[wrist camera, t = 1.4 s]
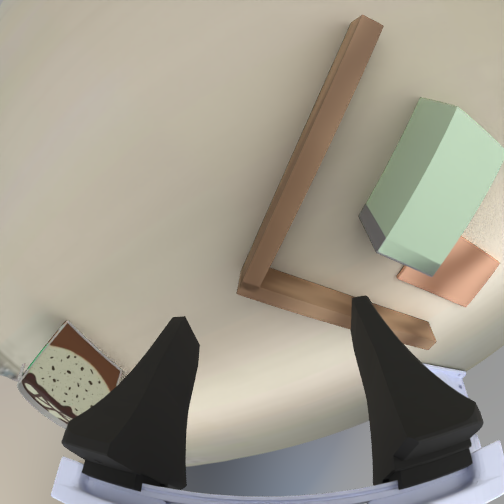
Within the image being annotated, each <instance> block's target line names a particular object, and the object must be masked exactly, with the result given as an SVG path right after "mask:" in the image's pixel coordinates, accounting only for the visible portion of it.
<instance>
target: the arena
mask: <svg viewBox="0 0 504 504" xmlns="http://www.w3.org/2000/svg"><path fill="white" fill-rule="evenodd" d="M383 27H384V26H383V25H381V24H379V23H377V22H376V21H374V20H372V19H370V18H368V17H366V16H364V15H361V16H360V17H358V18H357V19H356V20H354V21H353V22H351V24H350V27H349V29H348V31H347V33H346V35H345V38H344V40H343V42H342V44H341V47H340V49H339V51H338V53H337V56H336V58H335V60H334V62H333V65H332V67H331V69H330V71H329V74H328V76H327V78H326V80H325V83H324V85H323V87H322V89H321V92H320V94H319V96H318V98H317V101H316V103H315V105H314V107H313V110H312V112H311V114H310V116H309V119H308V121H307V123H306V125H305V128H304V130H303V132H302V134H301V137H300V139H299V141H298V143H297V146H296V148H295V150H294V152H293V155H292V157H291V159H290V161H289V164H288V166H287V168H286V170H285V173H284V175H283V177H282V179H281V182H280V184H279V186H278V188H277V191H276V193H275V195H274V197H273V200H272V202H271V204H270V207H269V209H268V211H267V213H266V216H265V218H264V220H263V222H262V225H261V227H260V229H259V231H258V234H257V236H256V238H255V240H254V243H253V245H252V247H251V250H250V252H249V254H248V256H247V259H246V261H245V263H244V265H243V268H242V270H241V273H240V278H239V283H238V289H237V294H238V295H241V296H244V297H247V298H250V299H253V300H256V301H260V302H263V303H266V304H269V305H272V306H275V307H278V308H281V309H284V310H288V311H291V312H294V313H297V314H301V315H304V316H307V317H310V318H314V319H317V320H320V321H324V322H327V323H330V324H334V325H337V326H341V327H344V328H348V329H351V308H352V298H354V297H353V296H350V295H347V294H344V293H341V292H338V291H335V290H332V289H330V288H327V287H324V286H321V285H318V284H315V283H312V282H309V281H306V280H304V279H301V278H298V277H295V276H292V275H289V274H286V273H283V272H280V271H278V270H275V269H272V268H270V266H271V264H272V262H273V260H274V258H275V256H276V254H277V252H278V250H279V248H280V246H281V244H282V242H283V240H284V238H285V236H286V234H287V232H288V230H289V228H290V226H291V224H292V222H293V220H294V218H295V216H296V214H297V212H298V209H299V207H300V205H301V203H302V201H303V199H304V197H305V195H306V193H307V191H308V189H309V187H310V185H311V183H312V181H313V179H314V177H315V175H316V172H317V170H318V168H319V166H320V164H321V162H322V160H323V158H324V156H325V154H326V152H327V149H328V147H329V145H330V143H331V141H332V139H333V137H334V135H335V132H336V130H337V128H338V126H339V124H340V122H341V120H342V118H343V115H344V113H345V111H346V109H347V107H348V105H349V102H350V100H351V98H352V96H353V94H354V92H355V89H356V87H357V85H358V83H359V81H360V78H361V76H362V74H363V72H364V69H365V67H366V65H367V63H368V61H369V58H370V56H371V54H372V52H373V49H374V47H375V45H376V43H377V40H378V38H379V36H380V33H381V31H382V29H383ZM499 264H500V263H499V262H498V261H497V260H495V259H494V258H493V257H491V256H490V255H488V254H487V253H485V252H484V251H483V250H481V249H480V248H478V247H477V246H475V245H474V244H472V243H471V242H469V241H468V240H466V239H464V238H463V237H461V236H460V238H459V239H458V241H457V242H456V244H455V245H454V247H453V248H452V250H451V251H450V253H449V254H448V256H447V257H446V258H445V260H444V261H443V263H442V264H441V266H440V267H439V269H438V270H437V271H436V273H435V274H434V275H433V277H430V276H427V275H425V274H423V273H421V272H419V271H416V270H414V269H412V268H410V267H408V266H404V267H403V268H402V270H401V271H400V272H399V274H398V275H397V278H398V279H399V280H402V281H404V282H407V283H409V284H412V285H414V286H416V287H419V288H421V289H424V290H426V291H428V292H431V293H433V294H436V295H438V296H440V297H443V298H445V299H447V300H450V301H452V302H454V303H457V304H459V305H461V306H464V307H467V305H468V304H469V303H470V302H471V301H472V299H473V298H474V297H475V296H476V295H477V293H478V292H479V291H480V290H481V288H482V287H483V286H484V284H485V283H486V282H487V280H488V279H489V278H490V276H491V275H492V274H493V272H494V271H495V270H496V268H497V267H498V265H499ZM372 304H373V303H372ZM373 305H374V307H375V308H376V310H377V311H378V313H379V314H380V315H381V317H382V318H383V320H384V321H385V322H386V324H387V325H388V326H389V327H390V329H391V330H392V331H393V332H394V334H395V335H396V336H397V337H398V338H399V340H400V341H401V342H402V343H403V344H406V345H410V346H414V347H418V348H422V349H426V350H429V349H430V348H431V347H432V346H433V345H434V344H435V343H436V342H437V341H436V339H435V337H434V334H433V332H432V329H431V327H430V325H429V323H428V322H427V321H424V320H421V319H418V318H415V317H412V316H409V315H406V314H403V313H400V312H397V311H394V310H391V309H388V308H385V307H382V306H379V305H376V304H373Z"/></svg>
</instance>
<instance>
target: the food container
mask: <svg viewBox="0 0 504 504" xmlns="http://www.w3.org/2000/svg"><path fill="white" fill-rule="evenodd" d="M24 367H25V364H23V365H22V367H21V370H20V373H19V376H18V384H17V387H18V390H19V391H20V393H21V394H22V395H23V397H24V398H25V399H26V400H27V401H28V402H29V403H30V404H31V405H32V406H33V407H34V408H35V409H36V410H38V411H39V412H40V413H41V414H43V415H44V416H45V417H47V418H48V419H50V420H51V421H53V422H54V423H56V424H57V425H59V426H61V427H62V428H65V429H66V428H67V425H68V422H69V421H70V420H72V419H73V418H75V417H77V416H78V415H80V414H82V413H83V412H85V411H86V410H88V409H89V408H91V407H92V406H93V405H95V404H96V403H98V402H99V401H100V400H101V399H103V398H104V397H105V396H106V395H107V394H108V393H110V392H111V391H112V390H113V389H114V388H115V387H116V386H117V385H118V384H119V382H120V378H121V375H122V372H123V370H122V369H120V368H119V367H118V366H117V365H116V364H114V363H113V362H112V361H111V360H110V359H109V358H108V357H106V356H105V355H104V354H103V353H102V352H101V351H100V350H99V349H97V348H96V347H95V346H94V345H93V344H92V343H91V342H90V341H89V340H88V339H87V338H86V337H85V336H84V335H82V334H81V333H80V332H79V331H78V330H77V329H76V328H75V327H74V326H73V325H72V324H71V323H70V322H69V321H68V320H67V321H65V322H64V323H63V324H62V326H61V327H60V328H59V329H58V330H57V332H56V333H55V334H54V335H53V337H52V338H51V339H50V340H49V341H48V343H47V344H46V345H45V346H44V348H43V349H42V350H41V352H40V353H39V354H38V355H37V357H36V358H35V359H34V361H33V362H32V363H31V364H30V366H29V367H28V368H27V370H26V371H25V372H24V373H23V370H24Z"/></svg>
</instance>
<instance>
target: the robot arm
mask: <svg viewBox="0 0 504 504" xmlns="http://www.w3.org/2000/svg"><path fill="white" fill-rule="evenodd" d="M351 335H352V341H353V347H354V352H355V356H356V360H357V363H358V367H359V371H360V375H361V378H362V382H363V386H364V390H365V394H366V399H367V405H368V412H369V421H370V430H371V441H372V457H373V486H369V487H364V488H359V489H353V490H347V491H340V492H332V493H323V494H313V495H300V496H276V497H253V496H229V495H216V494H205V493H197V492H189V491H182V490H181V489H183V488H185V487H186V485H187V484H186V465H185V456H186V429H187V418H188V410H189V404H190V400H191V395H192V391H193V386H194V382H195V377H196V372H197V367H198V360H199V347H200V345H199V343H198V341H197V339H196V337H195V335H194V333H193V331H192V329H191V327H190V325H189V323H188V321H187V319H186V317H185V316H184V317H173V318H172V319H171V320H170V322H169V323H168V324H167V326H166V327H165V328H164V330H163V331H162V333H161V334H160V335H159V337H158V338H157V339H156V341H155V342H154V343H153V345H152V346H151V347H150V349H149V350H148V351H147V353H146V354H145V355H144V357H143V358H142V359H141V360H140V361H139V363H138V364H137V365H136V366H135V367H134V369H133V370H132V371H131V372H130V373H129V374H128V375H127V376H126V377H125V378H124V379H123V380H122V381H121V382H120V384H118V385H117V386H116V387H115V388H114V389H113V390H112V391H111V392H110V393H108V394H107V395H106V396H105V397H104V398H103V399H101V400H100V401H99V402H98V403H96V404H95V405H93V406H92V407H91V408H89V409H88V410H86V411H85V412H83V413H82V414H80V415H78V416H77V417H75V418H73V419H72V420H70V421H69V422H68V425H67V428H66V431H65V433H64V436H63V440H62V444H63V446H64V447H66V448H67V449H69V450H70V451H71V452H73V453H75V454H77V455H78V456H80V457H81V458H83V459H85V463H84V464H82V463H80V462H77V461H75V460H72V459H69V458H67V457H64V456H63V457H62V459H61V462H60V465H59V468H58V472H57V475H56V479H55V482H54V486H53V489H52V493H51V496H52V497H53V498H55V499H57V500H59V501H61V502H63V503H65V504H171V503H173V504H364V503H367V504H486V503H488V502H490V501H492V500H494V499H496V498H497V497H499V496H501V495H503V494H504V454H503V450H502V447H501V443H500V440H497V441H495V442H493V443H491V444H489V445H487V446H484V447H482V448H481V445H480V441H479V438H478V436H477V434H475V433H476V432H477V431H478V430H479V429H480V428H481V427H482V425H483V419H482V416H481V413H480V411H479V409H478V407H477V405H476V403H475V402H474V401H472V400H470V399H469V398H468V395H467V392H466V389H465V386H464V383H463V381H462V378H463V377H464V376H465V375H466V372H465V371H460V370H455V369H449V368H444V367H439V366H434V365H429V364H422V363H421V362H420V361H419V360H418V359H417V358H416V357H415V356H414V355H413V354H412V353H411V352H410V351H409V350H408V348H407V347H406V346H405V345H404V344H403V343H402V342H401V341H400V340H399V338H398V337H397V336H396V335H395V334H394V332H393V331H392V330H391V329H390V327H389V326H388V325H387V324H386V322H385V321H384V320H383V318H382V317H381V315H380V314H379V313H378V311H377V310H376V308H375V307H374V305H373V304H372V302H371V301H370V299H369V298H368V297H367V296H360V297H354V298H352V308H351ZM164 487H166V488H164ZM169 488H173V489H169ZM175 489H178V490H175ZM179 489H180V490H179Z"/></svg>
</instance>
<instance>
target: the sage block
mask: <svg viewBox="0 0 504 504" xmlns="http://www.w3.org/2000/svg"><path fill="white" fill-rule="evenodd" d="M503 161H504V148H503V147H502V146H501V145H500V144H499V143H498V142H497V141H496V140H495V139H494V138H493V137H492V136H491V135H490V134H489V133H487V132H486V131H485V130H484V129H483V128H482V127H481V126H480V125H479V124H478V123H476V122H475V121H474V120H473V119H472V118H471V117H470V116H468V115H467V114H466V113H465V112H464V111H462V110H461V109H460V108H459V107H457V106H454V105H450V104H446V103H442V102H438V101H434V100H430V99H425V98H421V97H420V99H419V101H418V104H417V106H416V108H415V110H414V112H413V114H412V116H411V118H410V121H409V123H408V125H407V127H406V129H405V131H404V133H403V135H402V137H401V139H400V141H399V143H398V145H397V147H396V149H395V151H394V153H393V155H392V157H391V159H390V160H389V162H388V164H387V166H386V168H385V170H384V172H383V174H382V176H381V177H380V179H379V181H378V183H377V185H376V187H375V188H374V190H373V192H372V194H371V196H370V198H369V199H368V201H367V203H366V204H365V206H364V207H363V209H362V211H361V213H360V214H359V218H360V220H361V222H362V224H363V226H364V228H365V230H366V232H367V234H368V236H369V239H370V241H371V243H372V245H373V247H374V249H375V251H376V253H378V254H380V255H383V256H385V257H387V258H389V259H392V260H394V261H396V262H399V263H401V264H403V265H405V266H408V267H410V268H412V269H414V270H416V271H419V272H421V273H423V274H425V275H427V276H430V277H433V275H434V274H435V273H436V271H437V270H438V269H439V267H440V266H441V264H442V263H443V261H444V260H445V258H446V257H447V256H448V254H449V253H450V251H451V250H452V248H453V247H454V245H455V244H456V242H457V241H458V239H459V238H460V236H461V235H462V233H463V232H464V230H465V229H466V227H467V226H468V224H469V222H470V221H471V219H472V218H473V216H474V214H475V213H476V211H477V209H478V208H479V206H480V204H481V202H482V201H483V199H484V197H485V195H486V194H487V192H488V190H489V188H490V186H491V185H492V183H493V181H494V179H495V177H496V175H497V173H498V171H499V169H500V167H501V165H502V163H503Z"/></svg>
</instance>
